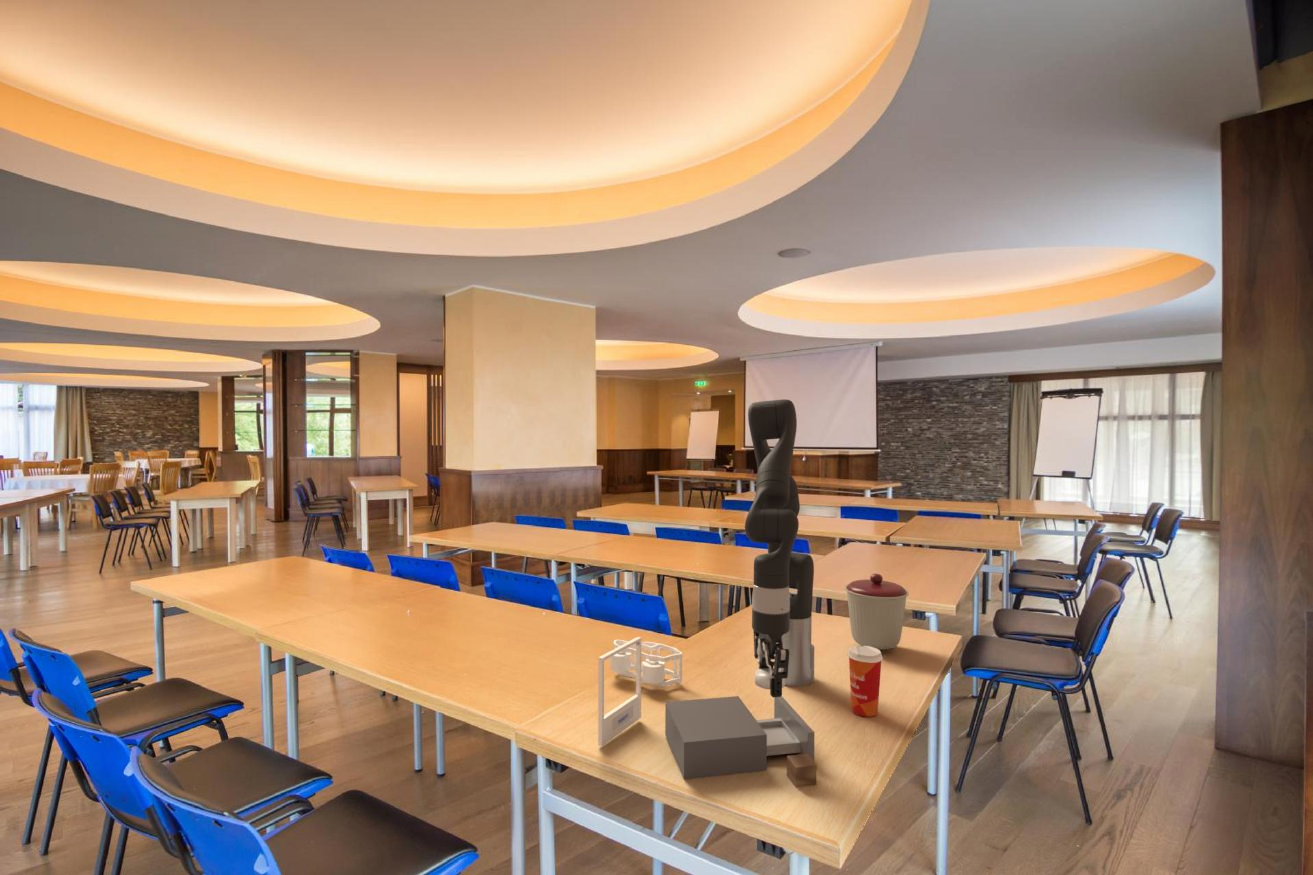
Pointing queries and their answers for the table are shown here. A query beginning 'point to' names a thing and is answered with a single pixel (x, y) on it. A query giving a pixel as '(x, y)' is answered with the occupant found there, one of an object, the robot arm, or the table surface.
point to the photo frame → (626, 711)
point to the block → (801, 770)
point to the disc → (764, 678)
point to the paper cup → (864, 679)
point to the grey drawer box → (714, 737)
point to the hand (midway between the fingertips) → (770, 689)
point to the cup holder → (648, 663)
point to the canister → (876, 612)
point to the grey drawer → (787, 731)
